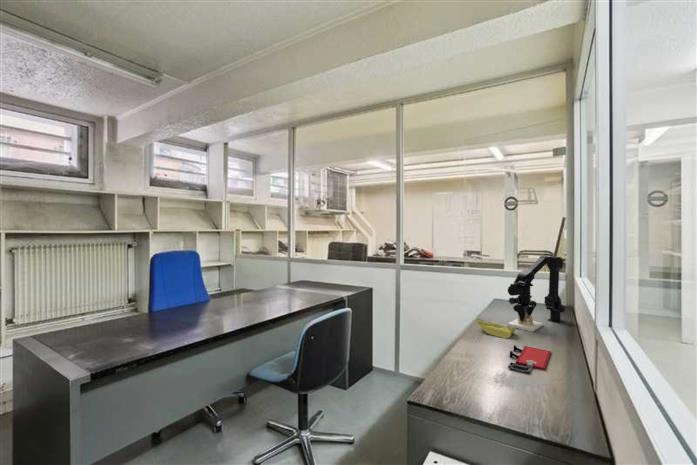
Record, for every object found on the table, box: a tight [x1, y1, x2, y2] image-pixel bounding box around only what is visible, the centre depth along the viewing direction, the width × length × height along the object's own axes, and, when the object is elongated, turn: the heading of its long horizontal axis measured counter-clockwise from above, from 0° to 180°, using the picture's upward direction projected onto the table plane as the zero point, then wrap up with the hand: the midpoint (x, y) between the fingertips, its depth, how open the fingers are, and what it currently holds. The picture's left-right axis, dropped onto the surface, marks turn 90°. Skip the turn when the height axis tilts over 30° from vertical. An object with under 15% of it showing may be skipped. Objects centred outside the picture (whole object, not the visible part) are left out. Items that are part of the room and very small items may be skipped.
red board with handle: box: [507, 345, 552, 374], centre depth 153 cm, size 30×3×15 cm
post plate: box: [507, 313, 544, 332], centre depth 199 cm, size 15×14×8 cm
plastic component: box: [476, 317, 516, 339], centre depth 189 cm, size 20×7×10 cm
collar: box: [517, 315, 534, 326], centre depth 199 cm, size 6×6×4 cm
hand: (525, 319), depth 199 cm, fingers open, 9 cm apart
